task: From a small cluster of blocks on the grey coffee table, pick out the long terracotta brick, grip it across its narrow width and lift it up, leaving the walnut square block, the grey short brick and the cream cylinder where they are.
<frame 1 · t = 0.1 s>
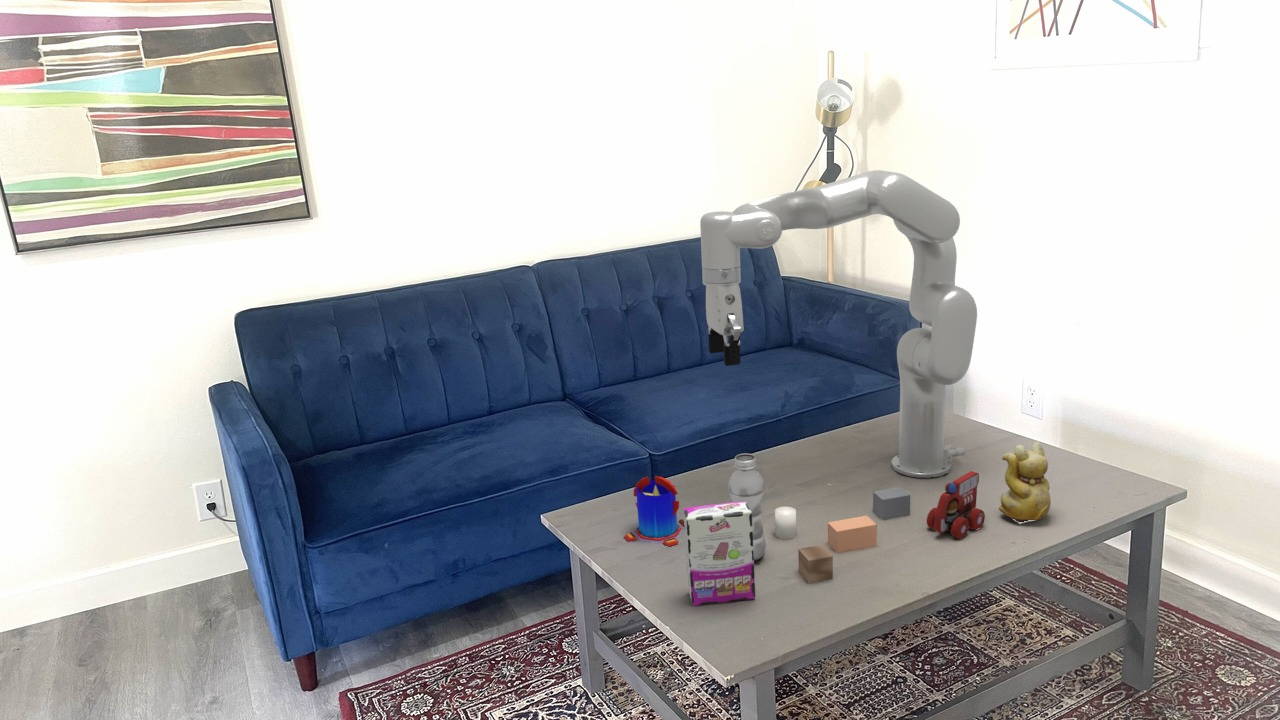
hand: (724, 358, 186), 31 cm above the table, tool pointing down, fingers open, 9 cm apart
plastic bottle: (748, 558, 171), on the table
toy fire truck: (954, 529, 176), on the table
cream cylinder: (785, 534, 178), on the table
decorative figurine: (1026, 518, 179), on the table
fantasy tower: (658, 532, 183), on the table
walnut square block: (815, 575, 163), on the table
grey short brick: (891, 513, 184), on the table
candy bar box: (721, 596, 158), on the table
terracotta long brick: (852, 545, 173), on the table
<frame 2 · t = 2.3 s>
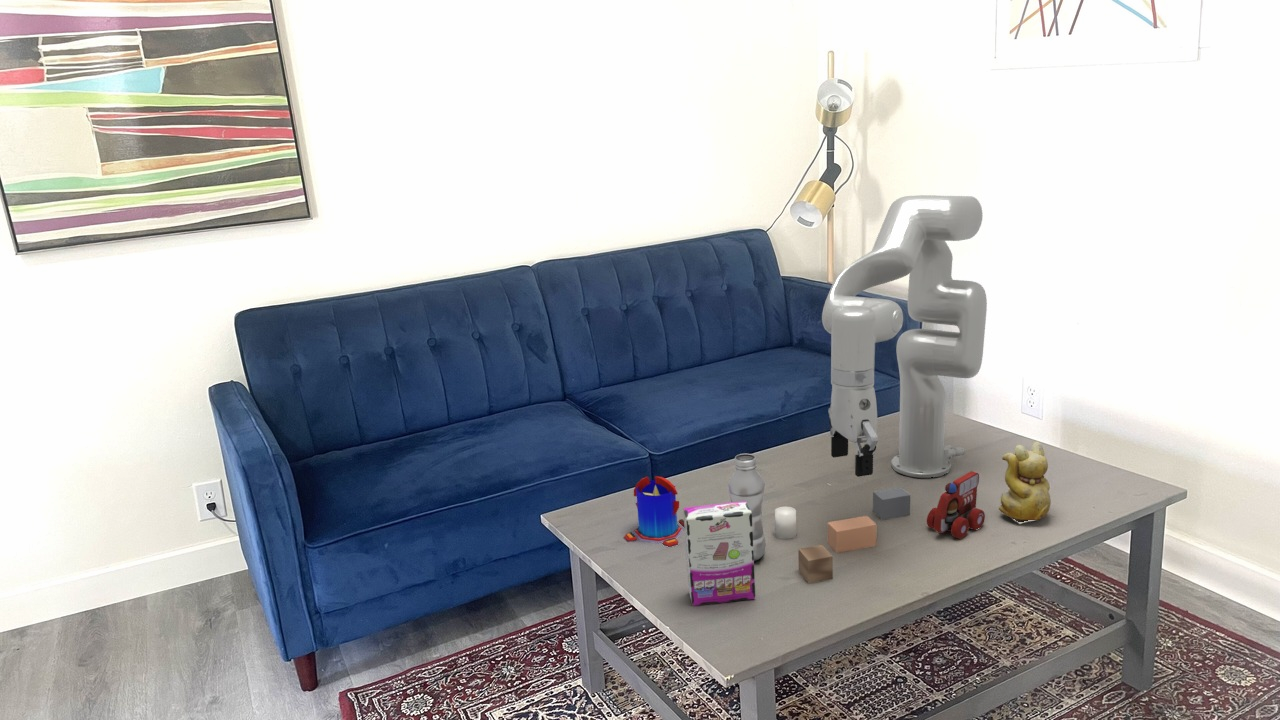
hand: (851, 465, 168), 16 cm above the table, tool pointing down, fingers open, 9 cm apart
nothing on the table moved.
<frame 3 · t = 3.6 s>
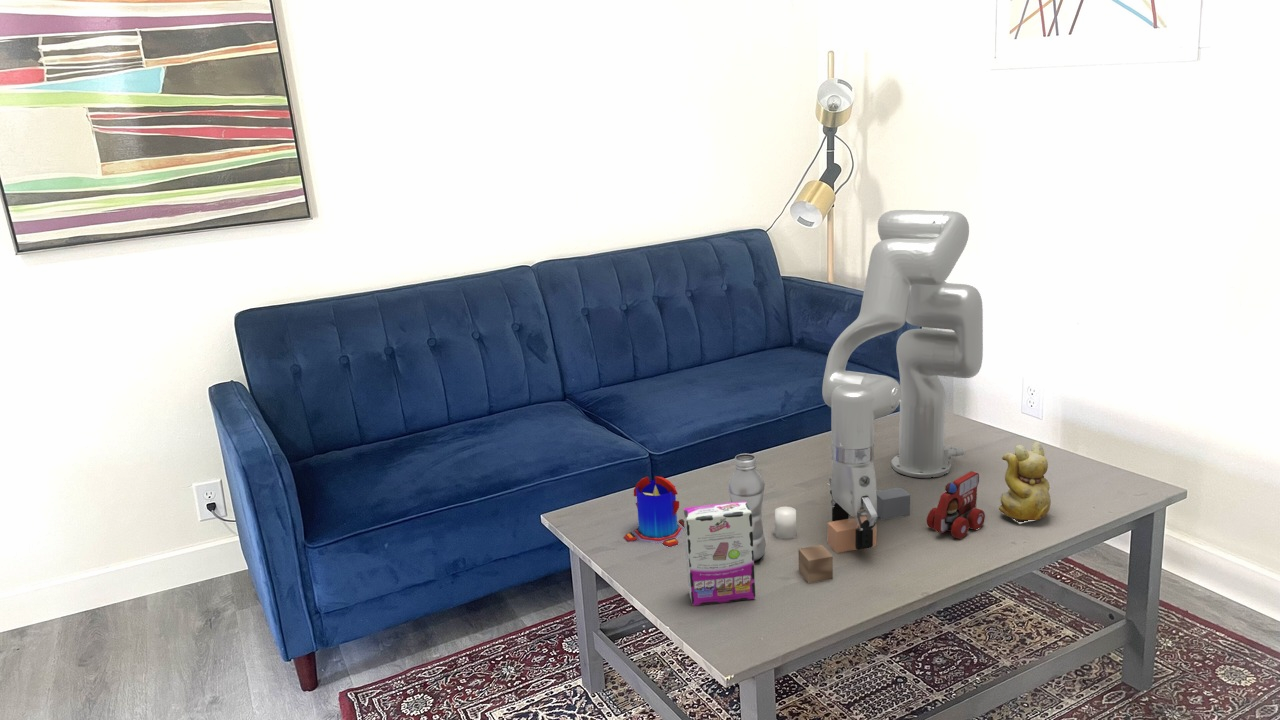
hand: (851, 536, 172), 2 cm above the table, tool pointing down, fingers open, 9 cm apart
nothing on the table moved.
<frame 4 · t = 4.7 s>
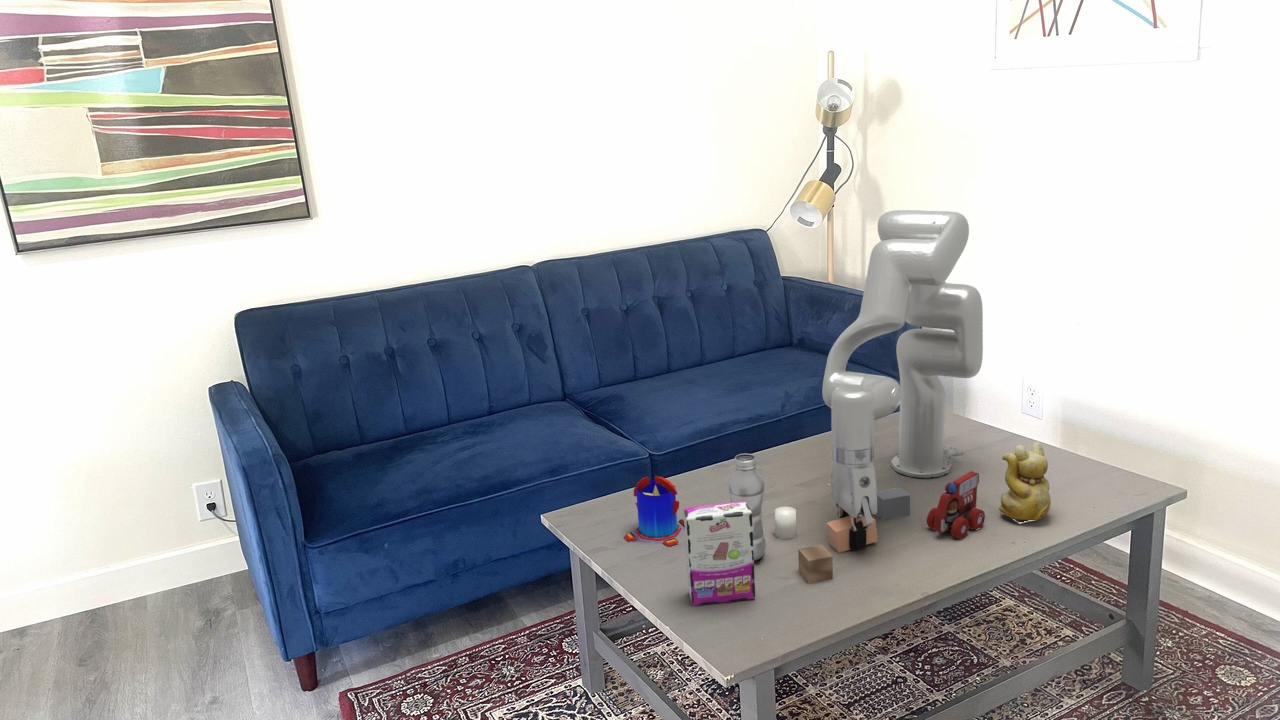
hand: (852, 541, 173), 0 cm above the table, tool pointing down, fingers closed on terracotta long brick, 3 cm apart
terracotta long brick: (853, 542, 173), on the table, tilted 7°, touching gripper
everything else where it was.
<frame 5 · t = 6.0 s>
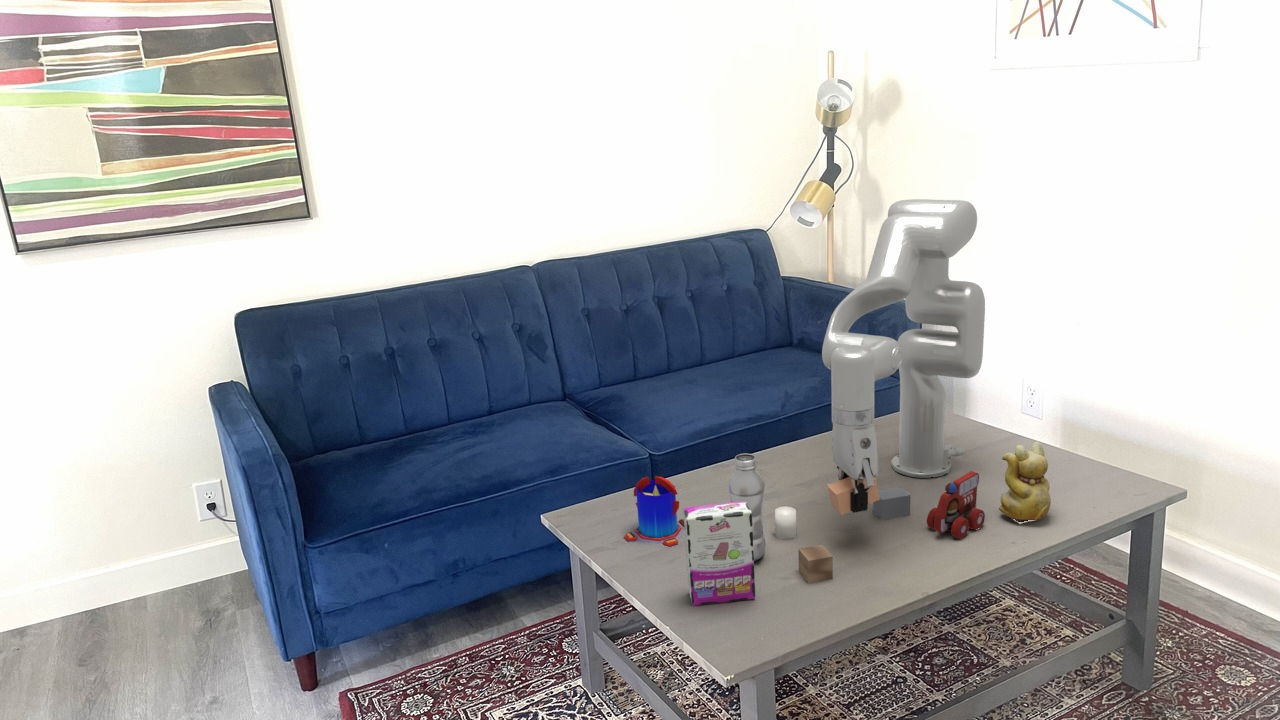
hand: (853, 504, 171), 8 cm above the table, tool pointing down, fingers closed on terracotta long brick, 4 cm apart
terracotta long brick: (855, 502, 171), point 8 cm above the table, tilted 13°, touching gripper
everything else where it was.
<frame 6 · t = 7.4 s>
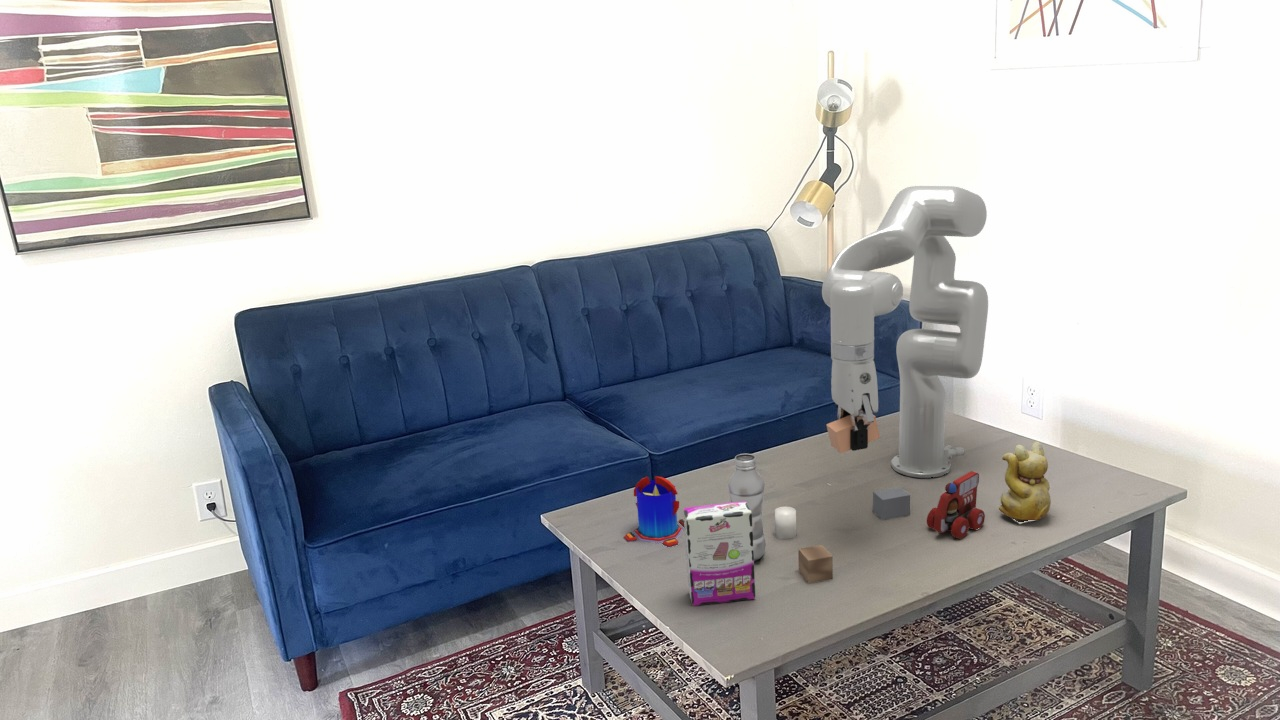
hand: (853, 443, 169), 19 cm above the table, tool pointing down, fingers closed on terracotta long brick, 4 cm apart
terracotta long brick: (855, 441, 169), point 20 cm above the table, tilted 14°, touching gripper
everything else where it was.
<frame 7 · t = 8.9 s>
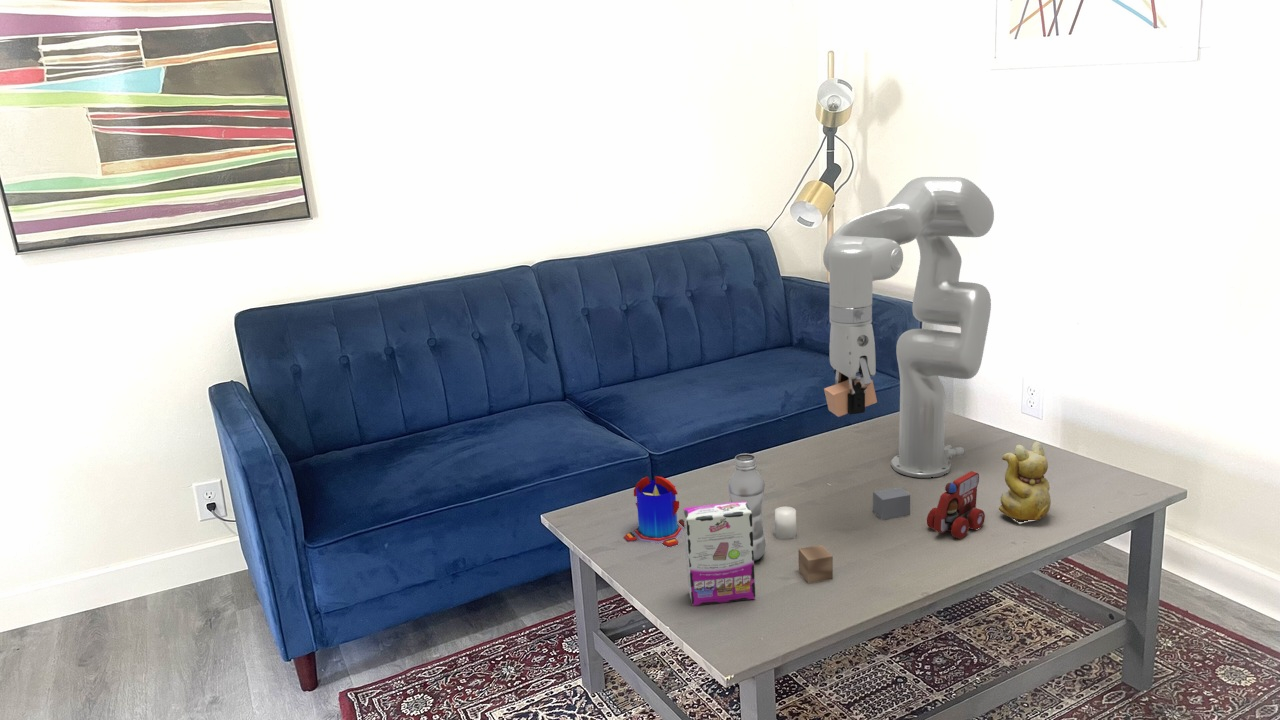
hand: (850, 408, 171), 25 cm above the table, tool pointing down, fingers closed on terracotta long brick, 4 cm apart
terracotta long brick: (852, 406, 171), point 26 cm above the table, tilted 12°, touching gripper
everything else where it was.
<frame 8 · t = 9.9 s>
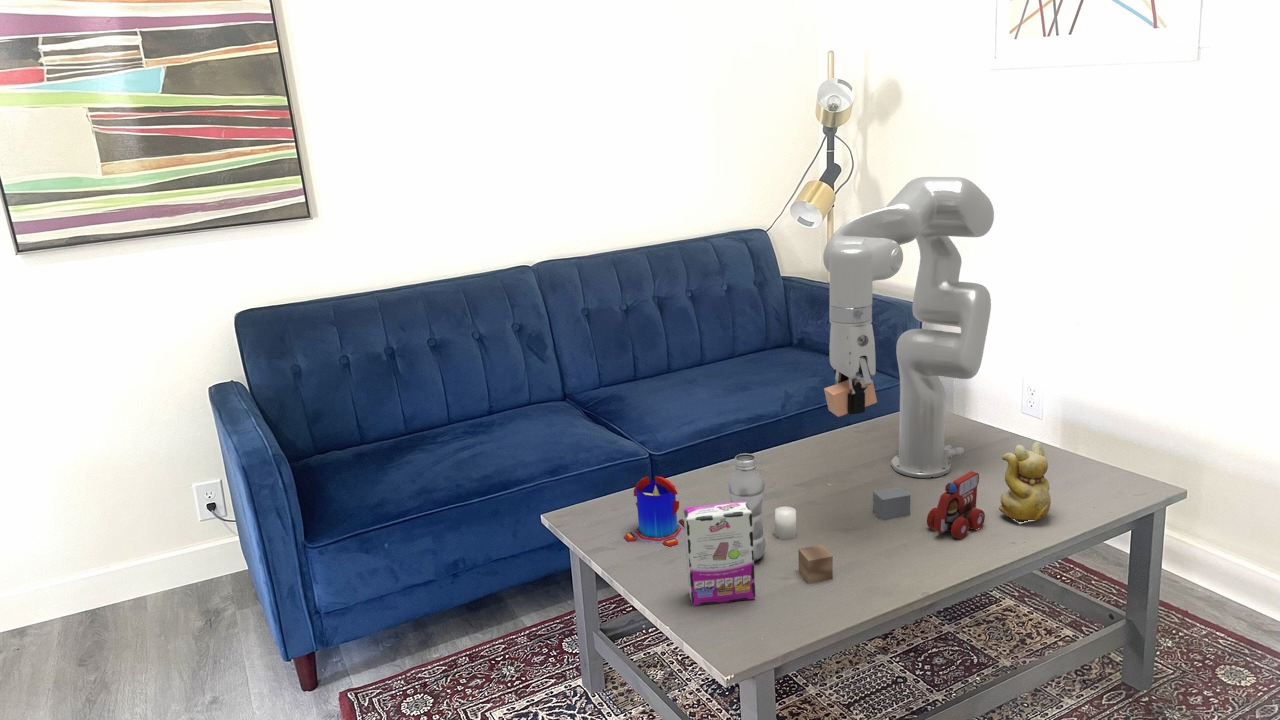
hand: (850, 408, 171), 25 cm above the table, tool pointing down, fingers closed on terracotta long brick, 4 cm apart
terracotta long brick: (852, 406, 171), point 26 cm above the table, tilted 12°, touching gripper
everything else where it was.
at the end: terracotta long brick point 25.5 cm above the table; the gripper is holding terracotta long brick; walnut square block moved 0.1 cm from its start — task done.
